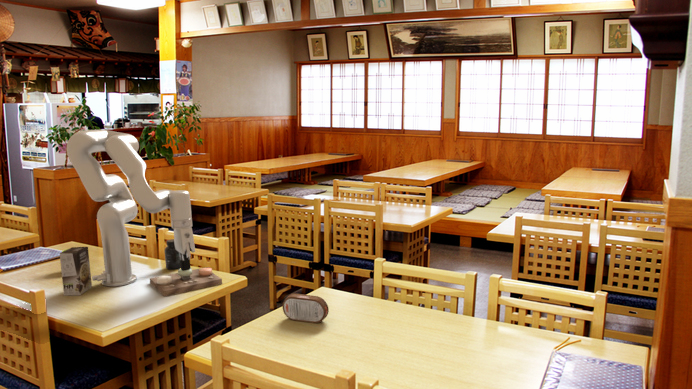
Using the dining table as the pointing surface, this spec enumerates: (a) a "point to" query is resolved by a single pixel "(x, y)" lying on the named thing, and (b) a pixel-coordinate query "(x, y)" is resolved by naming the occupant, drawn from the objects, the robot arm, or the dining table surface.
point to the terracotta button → (205, 271)
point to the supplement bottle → (172, 256)
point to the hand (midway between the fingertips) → (185, 269)
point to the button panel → (186, 283)
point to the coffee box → (75, 270)
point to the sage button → (185, 274)
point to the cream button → (164, 280)
